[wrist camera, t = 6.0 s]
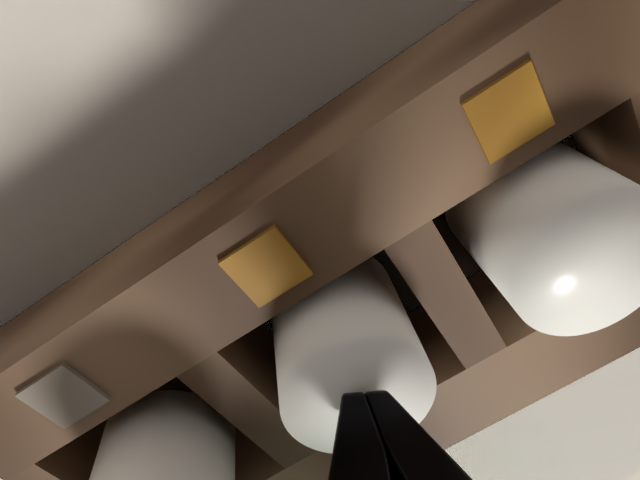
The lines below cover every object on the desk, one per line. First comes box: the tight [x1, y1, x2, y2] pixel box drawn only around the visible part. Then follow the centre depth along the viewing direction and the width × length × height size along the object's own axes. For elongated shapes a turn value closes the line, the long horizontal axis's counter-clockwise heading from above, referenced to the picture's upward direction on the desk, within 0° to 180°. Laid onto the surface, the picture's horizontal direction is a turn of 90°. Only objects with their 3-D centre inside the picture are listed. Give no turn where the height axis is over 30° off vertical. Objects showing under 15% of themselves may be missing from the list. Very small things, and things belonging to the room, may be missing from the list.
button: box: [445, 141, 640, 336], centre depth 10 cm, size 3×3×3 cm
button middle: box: [272, 257, 437, 454], centre depth 11 cm, size 3×3×3 cm
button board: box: [0, 0, 640, 480], centre depth 11 cm, size 15×8×3 cm, turn 122°
